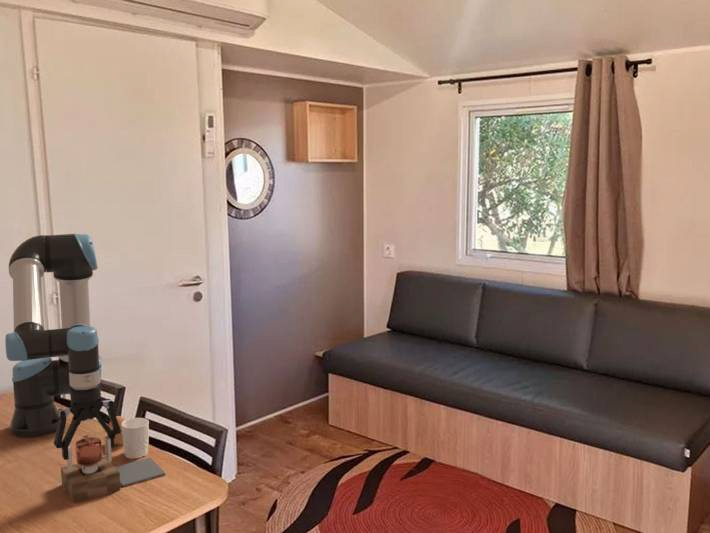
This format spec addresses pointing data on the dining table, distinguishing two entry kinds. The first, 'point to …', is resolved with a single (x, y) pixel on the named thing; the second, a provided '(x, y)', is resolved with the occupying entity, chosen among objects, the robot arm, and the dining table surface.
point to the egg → (118, 438)
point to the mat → (139, 471)
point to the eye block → (90, 481)
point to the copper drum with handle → (89, 454)
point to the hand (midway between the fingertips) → (89, 464)
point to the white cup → (135, 437)
